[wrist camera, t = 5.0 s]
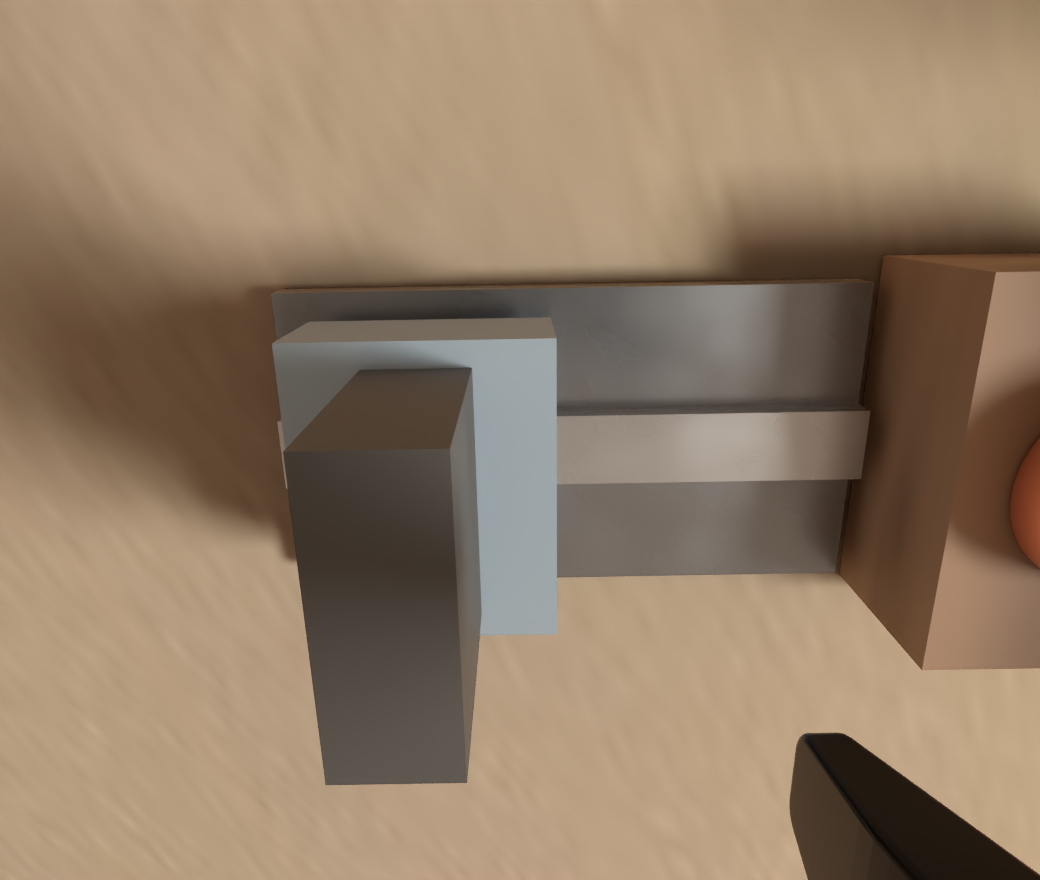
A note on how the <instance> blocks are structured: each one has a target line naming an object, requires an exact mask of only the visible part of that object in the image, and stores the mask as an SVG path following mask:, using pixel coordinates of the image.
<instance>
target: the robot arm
mask: <svg viewBox="0 0 1040 880" xmlns="http://www.w3.org/2000/svg"><path fill="white" fill-rule="evenodd" d="M790 816H791V822H792V826H793V830H794V834H795V837H796V840H797V844H798V847H799V851H800V854H801V857H802V861H803V864H804V868H805V871H806V874H807V878H808V880H1040V875H1039V874H1038V873H1037V872H1035V871H1034V870H1033V869H1031V868H1030V867H1028V866H1027V865H1026V864H1024V863H1023V862H1021V861H1020V860H1019V859H1017V858H1016V857H1015V856H1013V855H1012V854H1010V853H1009V852H1008V851H1006V850H1005V849H1004V848H1002V847H1001V846H999V845H998V844H997V843H995V842H994V841H993V840H991V839H990V838H988V837H987V836H986V835H984V834H983V833H982V832H980V831H979V830H977V829H976V828H975V827H973V826H972V825H971V824H969V823H968V822H966V821H965V820H964V819H962V818H961V817H959V816H958V815H957V814H955V813H954V812H953V811H951V810H950V809H948V808H947V807H946V806H944V805H943V804H942V803H940V802H939V801H937V800H936V799H935V798H933V797H932V796H931V795H929V794H928V793H926V792H925V791H924V790H922V789H921V788H920V787H918V786H917V785H915V784H914V783H913V782H911V781H910V780H908V779H907V778H906V777H904V776H903V775H902V774H900V773H899V772H897V771H896V770H895V769H893V768H892V767H891V766H889V765H888V764H886V763H885V762H884V761H882V760H881V759H880V758H878V757H877V756H875V755H874V754H873V753H871V752H870V751H869V750H867V749H866V748H864V747H863V746H862V745H860V744H859V743H857V742H856V741H855V740H853V739H852V738H850V737H849V736H847V735H845V734H842V733H806V734H804V735H802V736H801V737H800V738H799V740H798V743H797V746H796V753H795V761H794V769H793V777H792V785H791V793H790Z"/></svg>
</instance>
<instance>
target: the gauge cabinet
mask: <svg viewBox="0 0 1040 880" xmlns="http://www.w3.org/2000/svg"><path fill="white" fill-rule="evenodd" d="M863 407H865V408H866V409H868V410H870V418H869V426H868V433H867V440H866V447H865V454H864V461H863V468H862V475H861V479H853V480H852V487H851V495H850V502H849V509H848V517H847V524H846V531H845V539H844V546H843V553H842V560H841V568H840V575H841V577H842V578H843V579H844V580H845V581H846V582H847V584H848V585H849V586H850V587H851V588H852V589H853V591H854V592H855V593H856V594H857V595H858V596H859V598H860V599H861V600H862V601H863V602H864V603H865V604H866V606H867V607H868V608H869V609H870V610H871V611H872V613H873V614H874V615H875V616H876V617H877V618H878V620H879V621H880V622H881V623H882V624H883V625H884V627H885V628H886V629H887V630H888V631H889V632H890V634H891V635H892V636H893V637H894V638H895V639H896V641H897V642H898V643H899V644H900V645H901V646H902V647H903V649H904V650H905V651H906V652H907V653H908V654H909V656H910V657H911V658H912V659H913V660H914V661H915V663H916V664H917V665H918V666H919V667H920V668H921V670H957V669H1018V668H1040V568H1039V567H1037V566H1036V565H1035V564H1034V563H1033V562H1032V561H1031V560H1030V559H1029V558H1028V557H1027V556H1026V555H1025V553H1024V552H1023V551H1022V549H1021V548H1020V546H1019V544H1018V542H1017V540H1016V538H1015V535H1014V532H1013V529H1012V523H1011V517H1010V502H1011V495H1012V489H1013V486H1014V482H1015V479H1016V476H1017V474H1018V471H1019V469H1020V467H1021V464H1022V463H1023V461H1024V459H1025V457H1026V456H1027V454H1028V452H1029V451H1030V449H1031V448H1032V447H1033V445H1034V444H1035V443H1036V441H1037V440H1038V439H1039V438H1040V253H985V254H930V255H883V261H882V269H881V276H880V283H879V291H878V298H877V305H876V312H875V320H874V327H873V334H872V342H871V349H870V356H869V363H868V371H867V378H866V385H865V393H864V400H863Z"/></svg>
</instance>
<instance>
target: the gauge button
mask: <svg viewBox="0 0 1040 880" xmlns="http://www.w3.org/2000/svg"><path fill="white" fill-rule="evenodd" d="M1010 517H1011V523H1012V529H1013V532H1014V535H1015V538H1016V540H1017V542H1018V544H1019V546H1020V548H1021V549H1022V551H1023V552H1024V553H1025V555H1026V556H1027V557H1028V558H1029V559H1030V560H1031V561H1032V562H1033V563H1034V564H1035V565H1036V566H1037V567H1039V568H1040V438H1039V439H1038V440H1037V441H1036V443H1035V444H1034V445H1033V447H1032V448H1031V449H1030V451H1029V452H1028V454H1027V456H1026V457H1025V459H1024V461H1023V463H1022V464H1021V467H1020V469H1019V471H1018V474H1017V476H1016V479H1015V482H1014V486H1013V489H1012V495H1011V502H1010Z"/></svg>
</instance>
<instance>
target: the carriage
mask: <svg viewBox="0 0 1040 880" xmlns="http://www.w3.org/2000/svg"><path fill="white" fill-rule="evenodd" d="M272 350H273V358H274V366H275V374H276V382H277V390H278V398H279V405H280V413H281V421H282V429H283V437H284V445H285V450H284V451H283V456H284V464H285V471H286V479H287V487H288V495H289V503H290V510H291V518H292V526H293V534H294V542H295V549H296V557H297V565H298V573H299V581H300V588H301V596H302V604H303V612H304V620H305V627H306V635H307V643H308V651H309V659H310V666H311V674H312V682H313V690H314V698H315V705H316V713H317V721H318V729H319V737H320V744H321V752H322V760H323V768H324V776H325V783H326V785H360V784H422V783H467V776H468V765H469V754H470V742H471V731H472V719H473V708H474V696H475V685H476V674H477V662H478V651H479V639H480V635H535V634H557V338H556V335H555V331H554V327H553V324H552V320H551V317H540V318H484V319H428V320H372V321H317V322H308V323H306V324H304V325H303V326H301V327H299V328H297V329H296V330H294V331H292V332H290V333H289V334H287V335H285V336H284V337H282V338H280V339H278V340H277V341H275V342H273V343H272Z"/></svg>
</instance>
